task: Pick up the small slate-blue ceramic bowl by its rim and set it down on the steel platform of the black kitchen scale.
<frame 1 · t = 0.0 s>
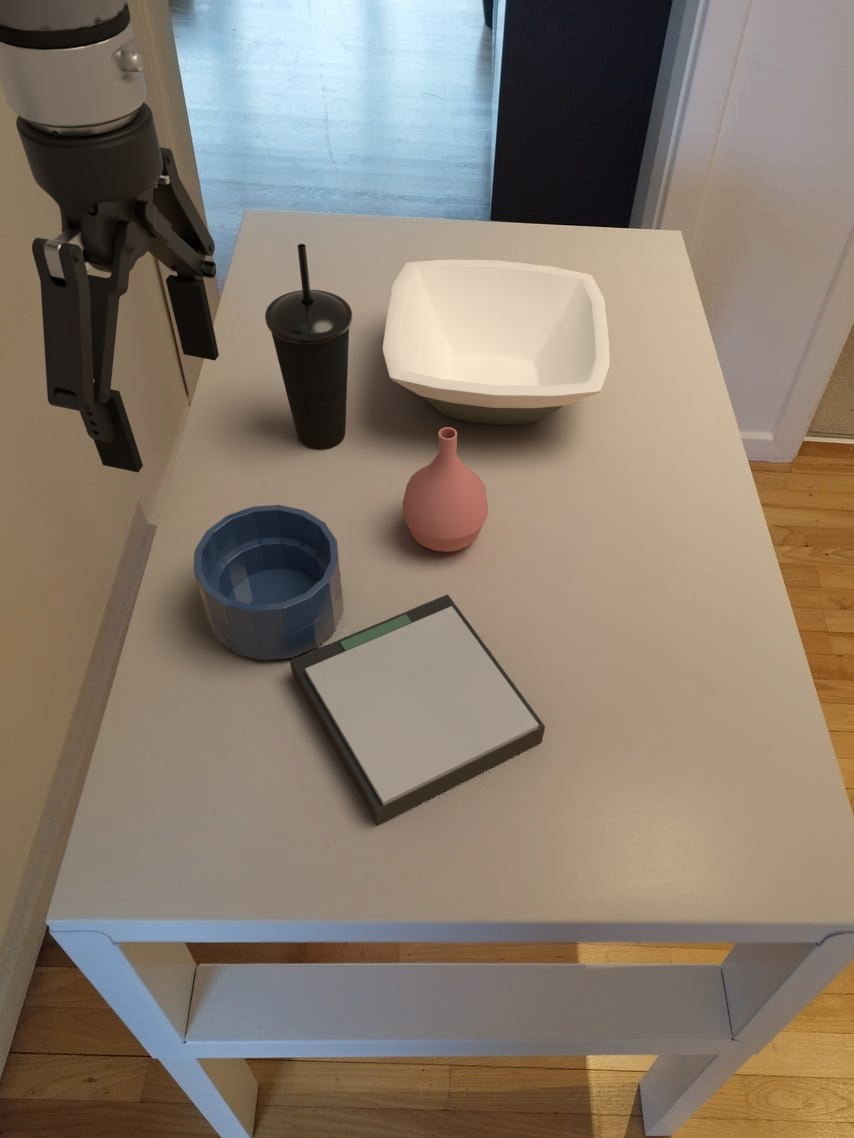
hand: (164, 407, 69), 16 cm above the table, tool pointing down, fingers open, 13 cm apart
blue bowl: (277, 610, 78), on the table
bowl: (492, 392, 97), on the table
pink bud vase: (444, 536, 84), on the table
scale: (415, 709, 72), on the table
drinking cup: (321, 435, 92), on the table
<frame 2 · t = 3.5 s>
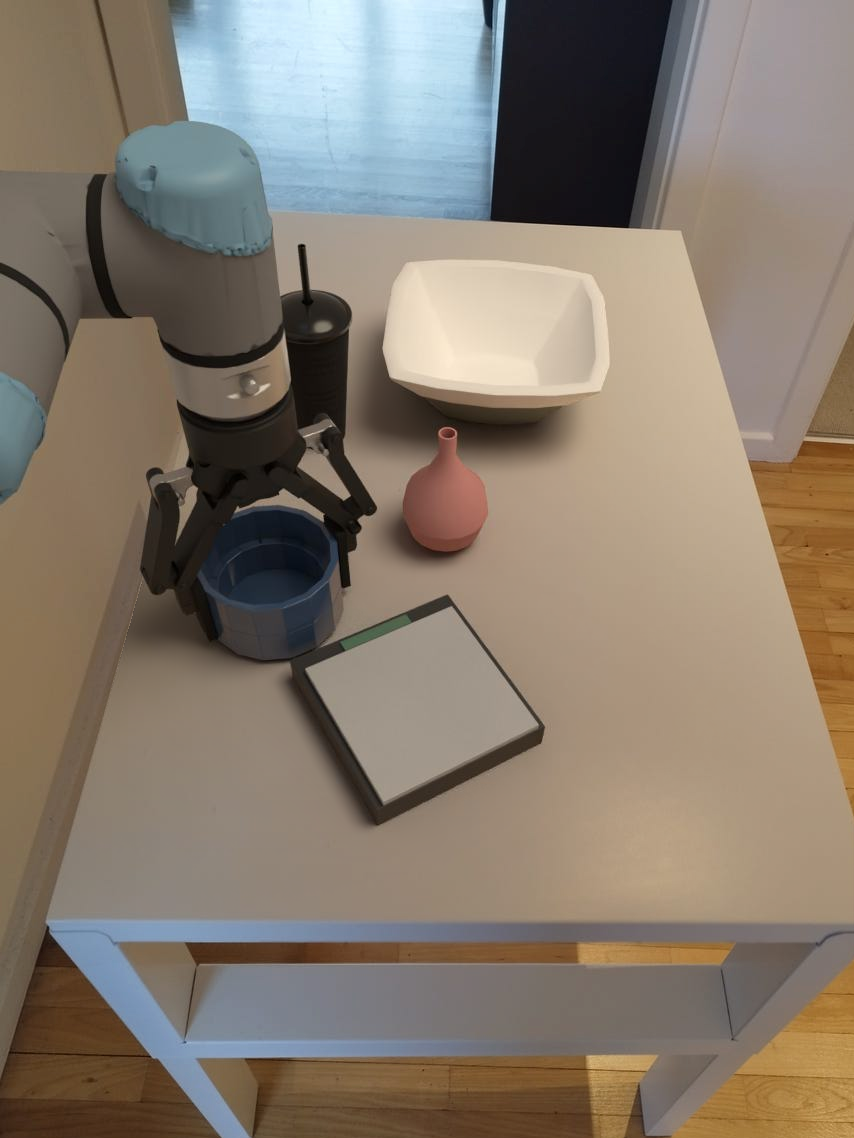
hand: (275, 602, 77), 1 cm above the table, tool pointing down, fingers closed on blue bowl, 11 cm apart
blue bowl: (277, 610, 78), on the table, touching gripper
everything else where it was.
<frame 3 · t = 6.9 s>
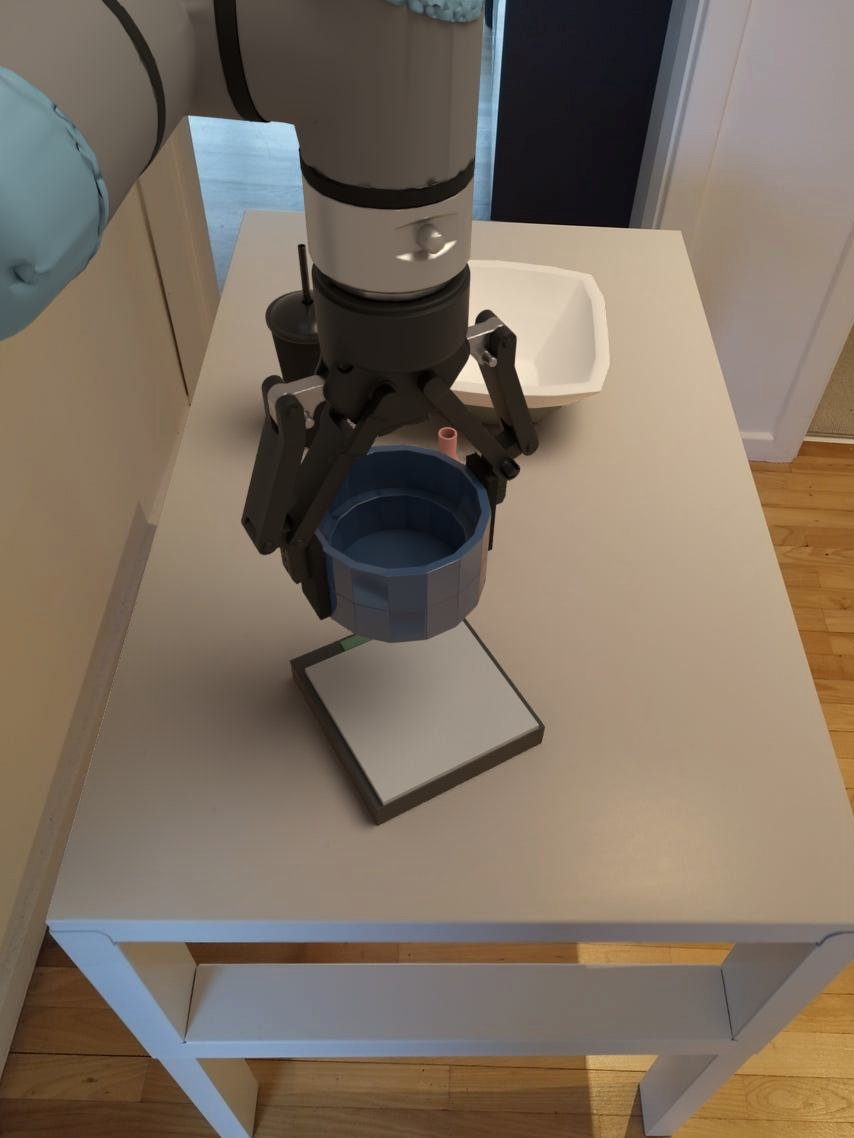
hand: (399, 570, 60), 16 cm above the table, tool pointing down, fingers closed on blue bowl, 11 cm apart
blue bowl: (400, 581, 61), point 15 cm above the table, touching gripper
everything else where it was.
when the fingers open (4 cm above the table, at t = 10.3 s): blue bowl stays where it is, resting on scale.
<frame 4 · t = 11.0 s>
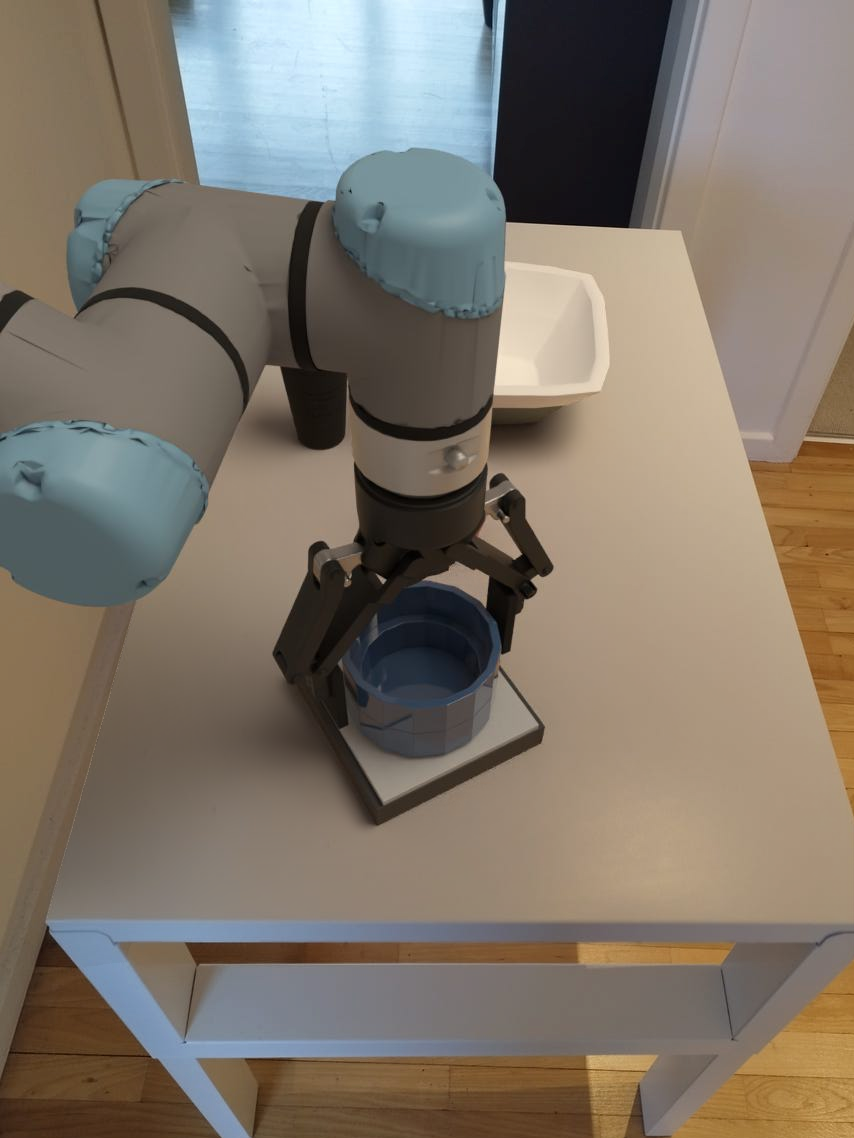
hand: (419, 676, 67), 6 cm above the table, tool pointing down, fingers open, 13 cm apart
blue bowl: (420, 696, 70), point 3 cm above the table, touching scale
everything else where it was.
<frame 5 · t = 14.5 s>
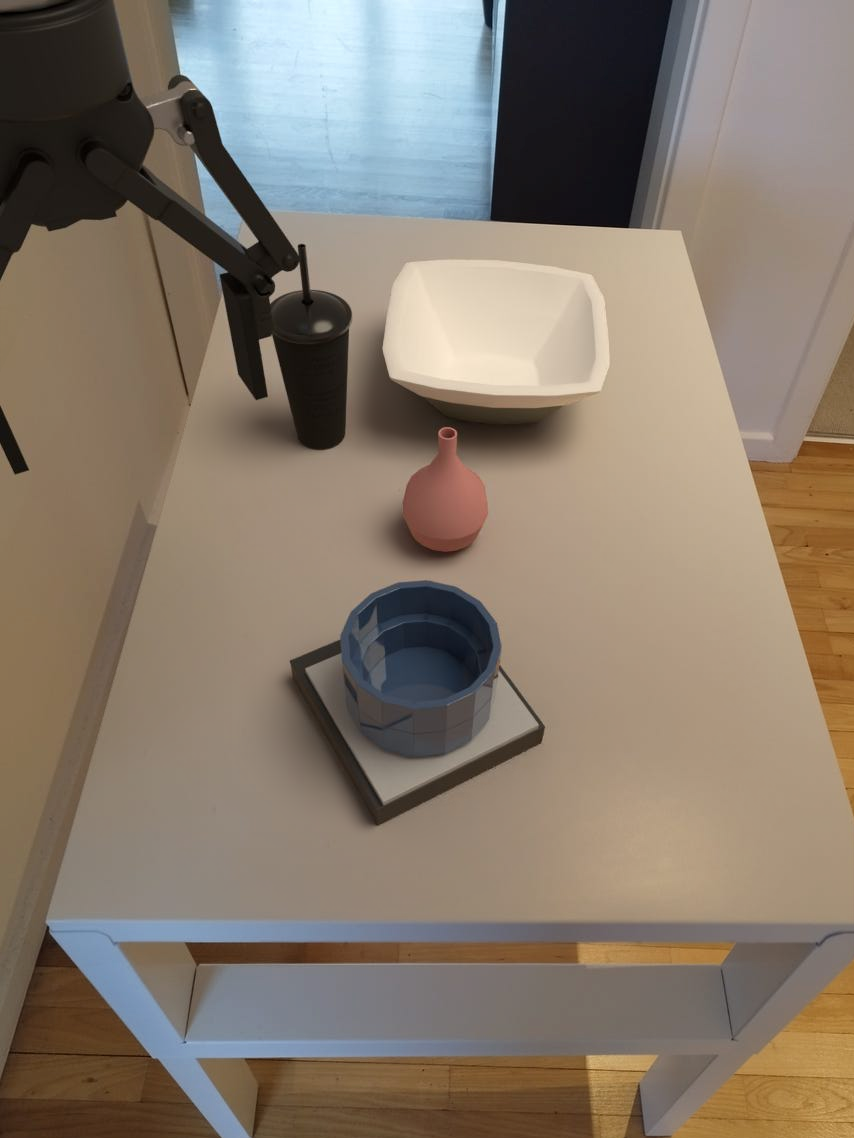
hand: (139, 420, 51), 27 cm above the table, tool pointing down, fingers open, 13 cm apart
nothing on the table moved.
at the end: blue bowl inside the target area on the scale (0.0 cm from its centre), point 3.0 cm above the scale's base; blue bowl tilted 0°; the gripper is holding nothing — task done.
